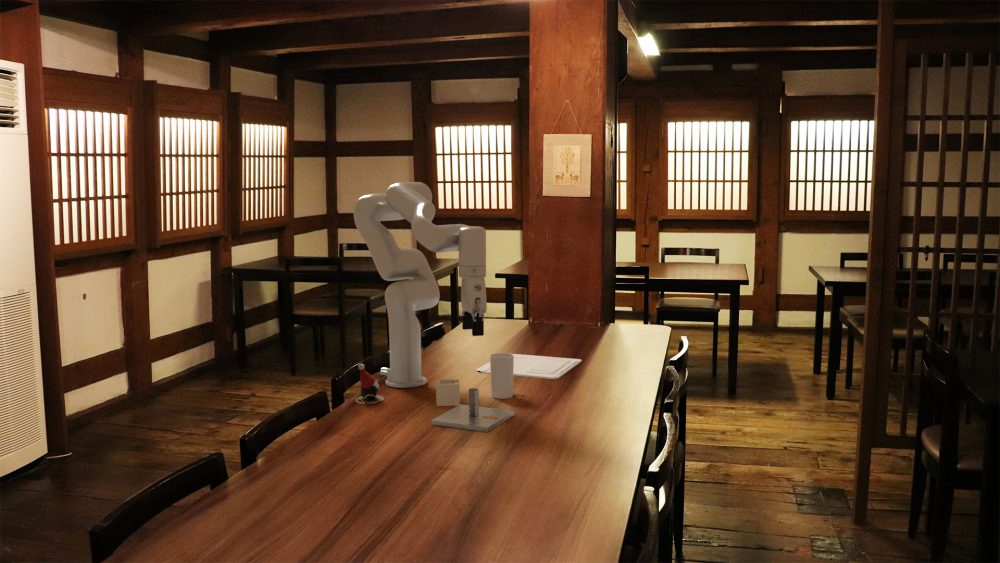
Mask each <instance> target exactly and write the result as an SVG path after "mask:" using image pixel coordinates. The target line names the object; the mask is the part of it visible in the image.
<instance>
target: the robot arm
mask: <svg viewBox="0 0 1000 563" xmlns="http://www.w3.org/2000/svg"><path fill="white" fill-rule="evenodd" d="M432 201H433V194H432V190H431V189H430V187H429V185H427V184H426V183H423V182H421V181H405V182H402V181H401V182H396V183H394V184H393V183H392V184H391V185H390V186H388V187H387V189H386V190H385V193H368V194H365V195H362V196H361V197H359V198H358V199H356V202H355V204H354V206H353V220H354V225H355V227H356V229H357V231H358V233H359V234H360V236H361V237H362V239H363V240H364V242H365V244H366V246H367V248H368V250H369V254H370V256H371V258H372V260H373V263H374V265H375V267H376V269H377V271H378V275H380V277H381V279H383V280H384V281H387V282H389V281H390V282H392V281H395V282H392V283H390V285H388V286H387V287H386V289H385V292H384V302H385V306H386V311H387V317H388V319H387V320H388V334H389V336H388V338H389V339H388V340H389V368H388V367H381V368H380V370H379V371H380V372H379V374H380V375H382V376H386V379H385V382H384V384H385V385H386V386H388V387H390V388H396V389H410V388H418V387H421V386H424V385H426V384H427V383H428V380H427V379H428V378H427V377H426V376H422V337H421V336H422V335H421V331H422V330H421V324H420V321H419V319H418V317H417V315H416V313H415V312H416V311H423V310H427V309H431V308H434V307H435V306H437V305H438V304H439V300H440V297H441V296H440V294H441V293H440V288H439V286H438V282H437V279H436V278H435V275H434V274H433V271H432V268H431V267H430V264H429V262H428V260H427V258H426V255H425V254H423V252H422V251H421V250H419V249H417V248H413V247H408V248H401V247H400V246H399V245H398V244H397V242H396V239H395V237H394V235H393V233H392V232H391V231H390V230H389V228H387V227H386V226H385V225H383V224H382V223H381V222H387V221H391V222H392V221H401V220H406V221H407V222H408V223H410V229H411V232H412V234H413V237H414V239H415V240H416V241H417V242H418V243H419V244H421V246H423V247H424V248H425V249H427V250H428V251H430V252H433V253H436V254H437V253H439V254H440V253H448V252H449V253H450V252H458V278H461V284H460V285H461V286H460V287H461V288H460V289H461V290H460V303H461V308H462V311H461V318H462V321H461V322H462V325H461V327H462V330H463V331H464V330H471V336H473V337H479V336H480V337H483V336H484V335H485V332H484V331H485V325H484V324H485V323H484V322H485V318H484V316H485V314H486V313H487V311H488V308H487V307H488V304H487V289H486V288H487V287H486V280H485V278H486V277H487V232H486V229H485V228H484V227H482V226H478V225H477V226H476V225H475V226H474V225H473V226H472V225H471V226H470V225H467V224H463V223H457V224H452V223H451V224H442V225H441V224H439V225H437V224H434V223H433V222H432V221H433V219H434V217H435V215H436V207H435V205H434V203H433V202H432Z"/></svg>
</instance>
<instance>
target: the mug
mask: <svg viewBox="0 0 1000 563" xmlns="http://www.w3.org/2000/svg"><path fill="white" fill-rule="evenodd" d="M513 354H514V353H510V352H495V353H491V354H490V355H489V358H490V360H489V362H490V371H491V374H490V390H491V391H490V395H491V397H492V398H494V399H497V400H500V399H502V400H505V399H510V398H513V396H514V376H513V366H514V355H513Z"/></svg>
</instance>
